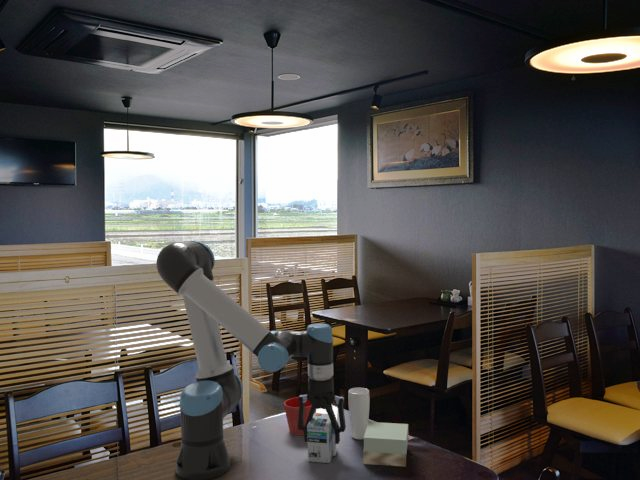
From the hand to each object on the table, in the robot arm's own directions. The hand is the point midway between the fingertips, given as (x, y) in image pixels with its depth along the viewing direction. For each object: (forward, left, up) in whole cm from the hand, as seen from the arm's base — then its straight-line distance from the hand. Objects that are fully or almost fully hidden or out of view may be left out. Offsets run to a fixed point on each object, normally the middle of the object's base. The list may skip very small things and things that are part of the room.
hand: (322, 453), depth 163 cm
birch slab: (+19, +2, -1) cm, 19 cm away
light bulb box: (0, 0, -1) cm, 1 cm away
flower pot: (-10, +17, -1) cm, 20 cm away
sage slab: (+19, +2, +3) cm, 19 cm away
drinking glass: (+10, +15, -1) cm, 17 cm away
